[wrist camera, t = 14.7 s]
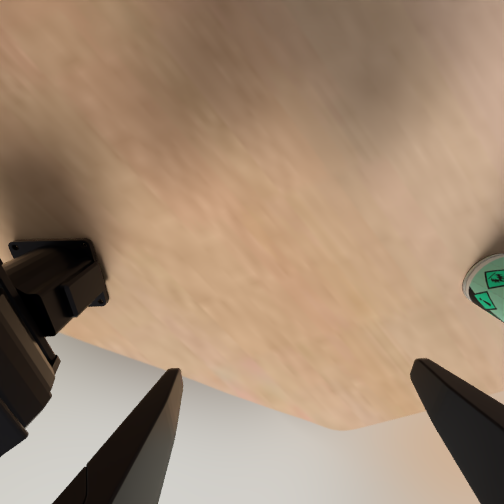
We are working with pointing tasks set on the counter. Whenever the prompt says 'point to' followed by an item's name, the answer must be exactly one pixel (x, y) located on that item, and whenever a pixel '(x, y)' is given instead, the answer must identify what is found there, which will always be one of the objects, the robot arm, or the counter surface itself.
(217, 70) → the counter surface
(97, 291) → the robot arm
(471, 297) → the spray can
